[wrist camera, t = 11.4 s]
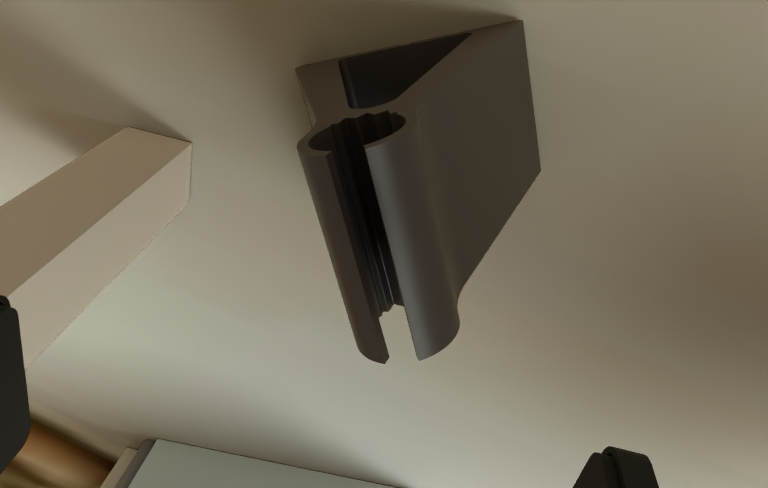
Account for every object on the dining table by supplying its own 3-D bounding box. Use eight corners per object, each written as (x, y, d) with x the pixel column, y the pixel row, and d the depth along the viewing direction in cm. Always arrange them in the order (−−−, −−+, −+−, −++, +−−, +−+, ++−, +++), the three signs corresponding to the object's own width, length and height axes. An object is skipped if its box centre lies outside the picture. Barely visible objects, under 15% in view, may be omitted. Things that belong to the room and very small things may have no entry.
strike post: (192, 143, 27) (1, 301, 17) (188, 202, 29) (11, 383, 18) (127, 126, 27) (-106, 273, 17) (126, 186, 29) (-87, 357, 18)
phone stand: (523, 19, 23) (555, 115, 13) (540, 167, 26) (577, 348, 15) (297, 64, 25) (165, 180, 15) (334, 198, 28) (244, 376, 17)
